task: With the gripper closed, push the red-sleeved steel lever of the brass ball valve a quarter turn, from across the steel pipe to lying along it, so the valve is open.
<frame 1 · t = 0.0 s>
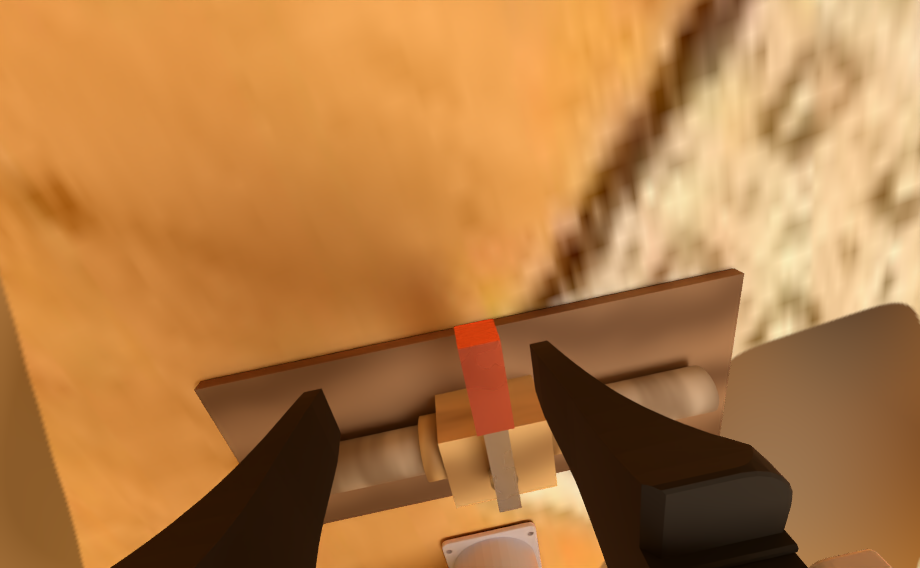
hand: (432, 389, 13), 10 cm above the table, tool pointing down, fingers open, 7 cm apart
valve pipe: (487, 408, 27), on the table
valve lever: (493, 424, 19), point 6 cm above the table, hinge at 0.0°
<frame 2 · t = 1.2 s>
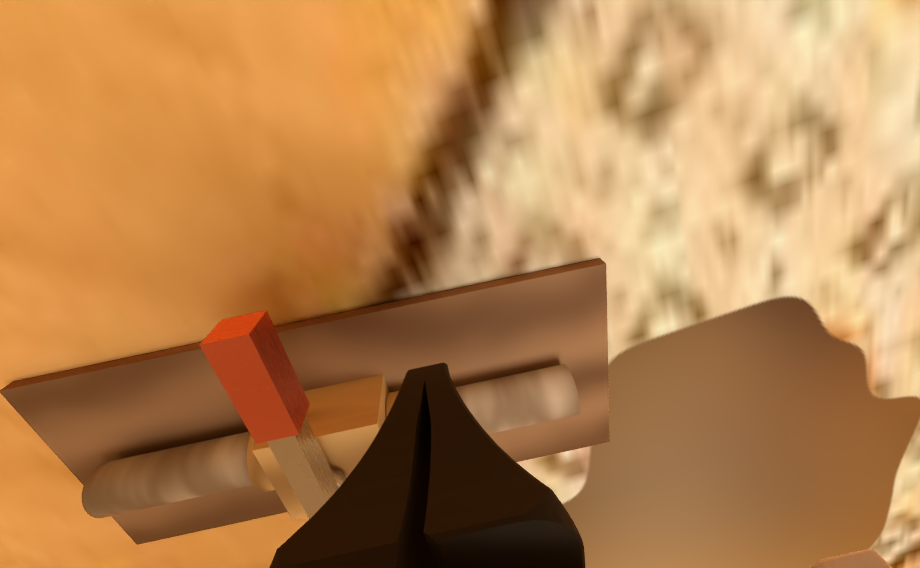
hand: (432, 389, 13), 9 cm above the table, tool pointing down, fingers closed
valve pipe: (347, 410, 25), on the table
valve lever: (291, 430, 17), point 6 cm above the table, hinge at 0.0°
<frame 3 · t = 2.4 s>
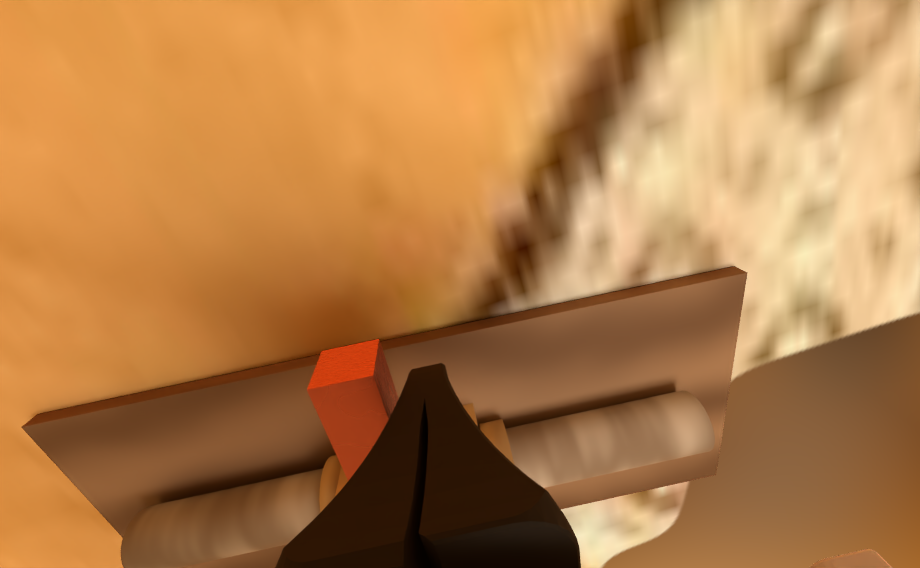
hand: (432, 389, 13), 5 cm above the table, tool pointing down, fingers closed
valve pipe: (423, 443, 21), on the table
valve lever: (395, 485, 14), point 6 cm above the table, hinge at 0.0°, touching gripper
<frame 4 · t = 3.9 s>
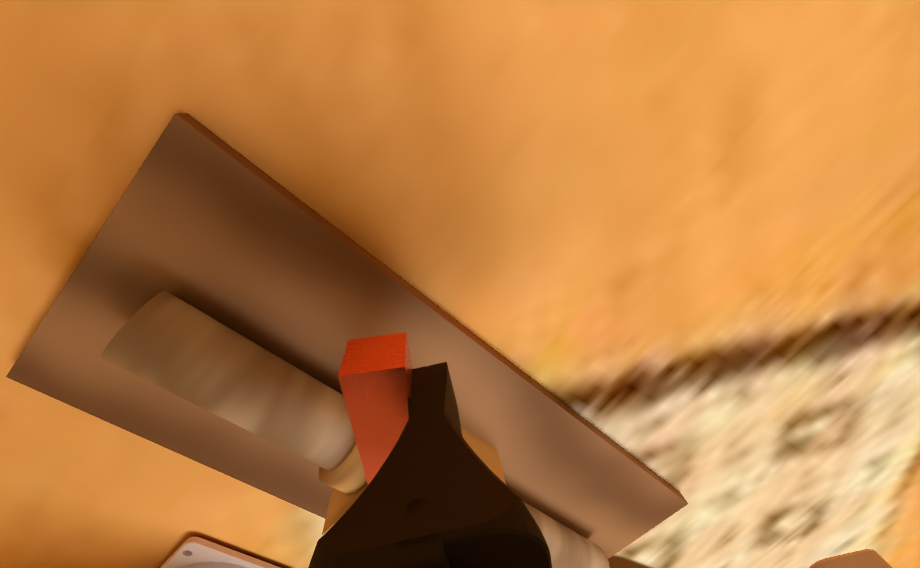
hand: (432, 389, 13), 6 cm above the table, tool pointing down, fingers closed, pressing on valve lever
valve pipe: (419, 442, 21), on the table
valve lever: (404, 480, 14), point 6 cm above the table, hinge at 48.5°, touching gripper
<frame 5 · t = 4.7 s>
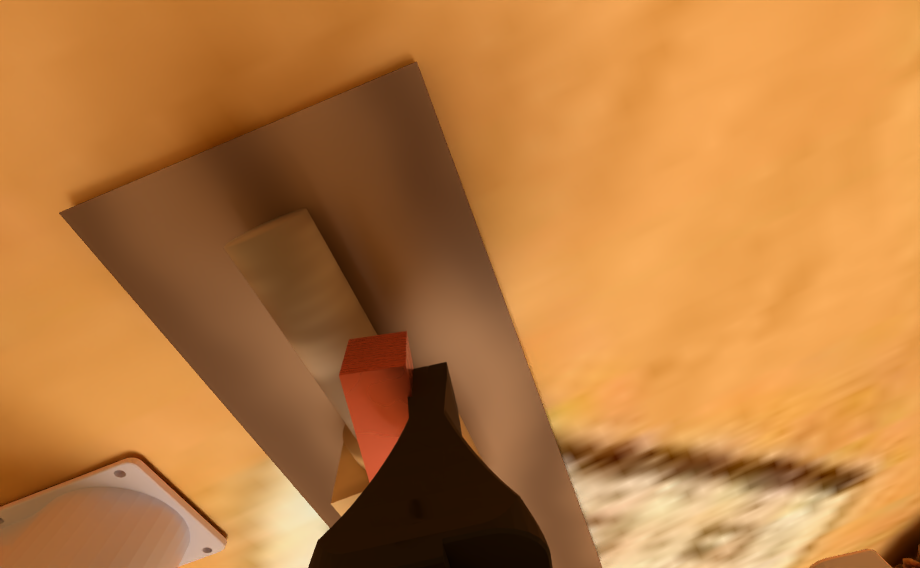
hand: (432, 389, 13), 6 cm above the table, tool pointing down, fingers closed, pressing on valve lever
pine cone: (890, 566, 34), on the table
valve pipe: (421, 441, 21), on the table
valve lever: (405, 478, 14), point 6 cm above the table, hinge at 75.2°, touching gripper
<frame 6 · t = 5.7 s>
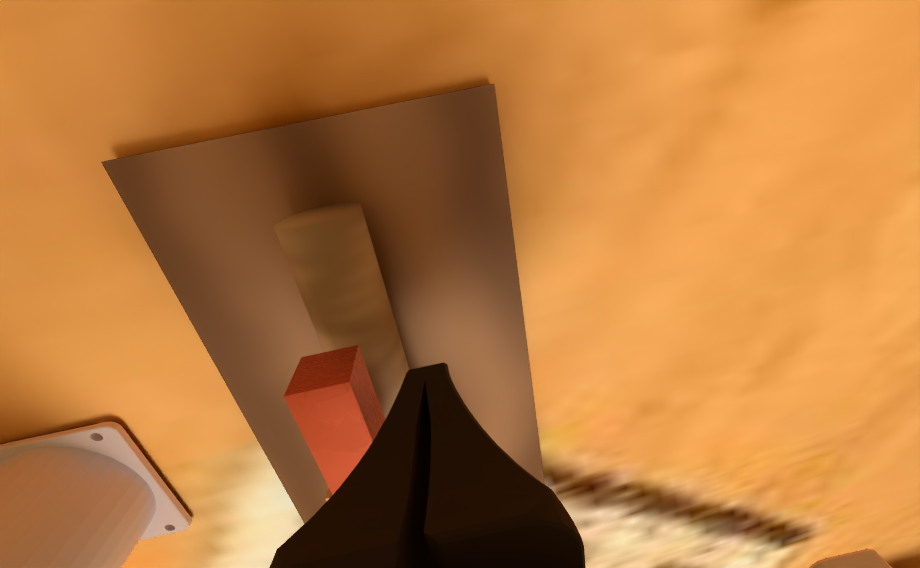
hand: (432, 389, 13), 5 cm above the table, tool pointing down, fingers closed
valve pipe: (411, 446, 22), on the table
valve lever: (377, 489, 14), point 6 cm above the table, hinge at 90.4°
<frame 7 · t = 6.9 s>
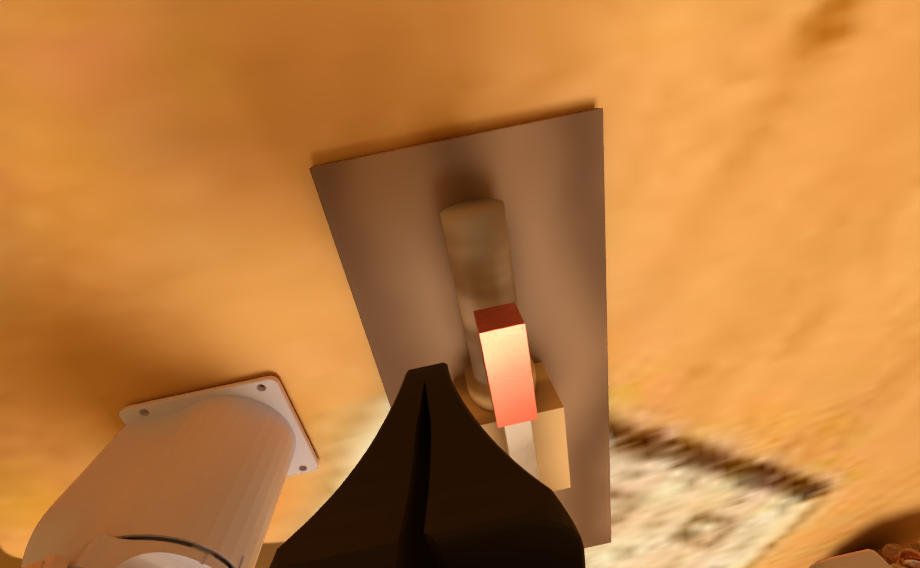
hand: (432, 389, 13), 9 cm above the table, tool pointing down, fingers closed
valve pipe: (501, 401, 26), on the table
valve lever: (514, 415, 18), point 6 cm above the table, hinge at 90.4°
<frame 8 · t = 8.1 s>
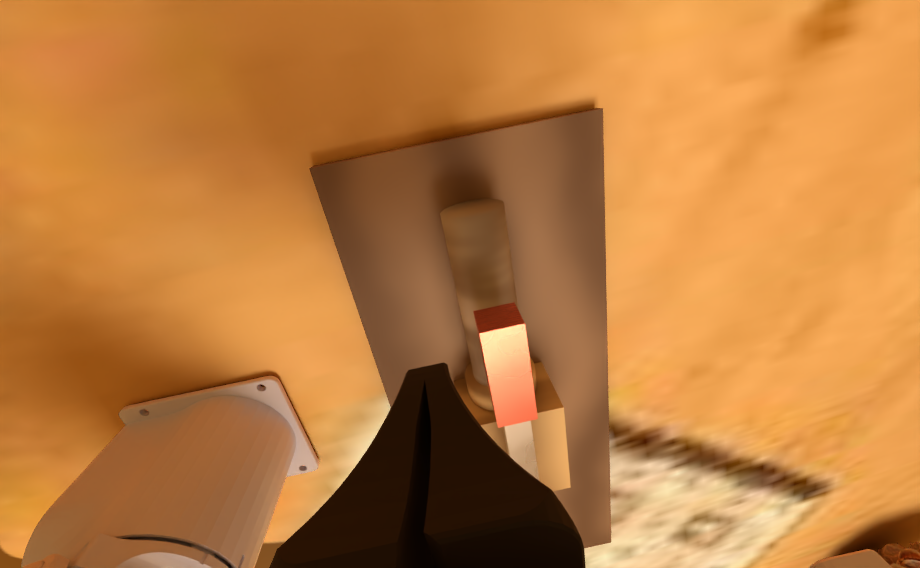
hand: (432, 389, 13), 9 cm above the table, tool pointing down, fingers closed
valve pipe: (501, 401, 26), on the table
valve lever: (514, 415, 18), point 6 cm above the table, hinge at 90.4°
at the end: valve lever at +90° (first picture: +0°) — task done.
